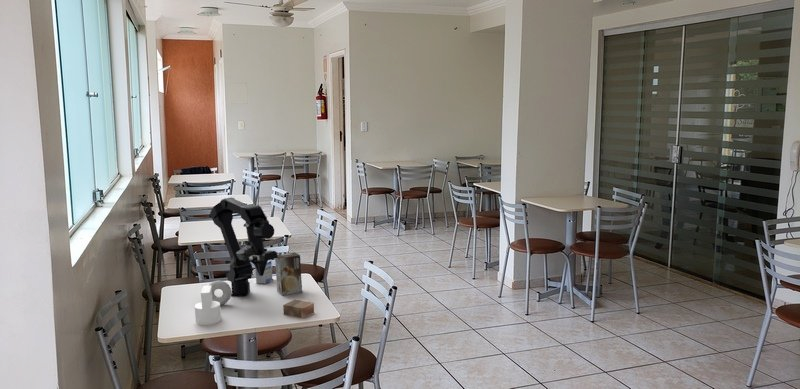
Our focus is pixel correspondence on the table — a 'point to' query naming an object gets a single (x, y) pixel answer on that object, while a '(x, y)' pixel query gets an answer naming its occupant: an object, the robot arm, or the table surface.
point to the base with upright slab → (207, 308)
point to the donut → (224, 288)
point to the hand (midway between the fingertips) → (261, 275)
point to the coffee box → (288, 273)
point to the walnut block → (298, 308)
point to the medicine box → (265, 274)
